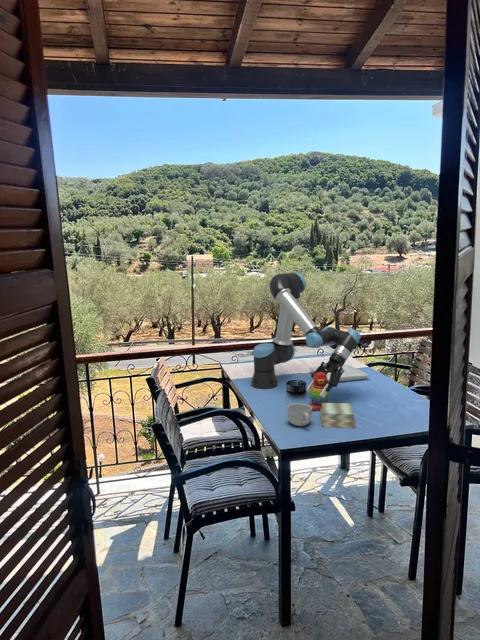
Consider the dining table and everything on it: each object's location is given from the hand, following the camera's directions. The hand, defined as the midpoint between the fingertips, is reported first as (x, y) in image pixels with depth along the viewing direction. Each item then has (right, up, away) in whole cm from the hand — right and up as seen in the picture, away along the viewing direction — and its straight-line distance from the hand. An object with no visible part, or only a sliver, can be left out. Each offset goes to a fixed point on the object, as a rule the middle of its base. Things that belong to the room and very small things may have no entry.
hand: (314, 393), depth 206 cm
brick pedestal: (+8, -10, -14) cm, 19 cm away
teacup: (-9, -11, -17) cm, 22 cm away
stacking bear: (+3, -7, +3) cm, 8 cm away
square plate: (+23, +1, +54) cm, 59 cm away
